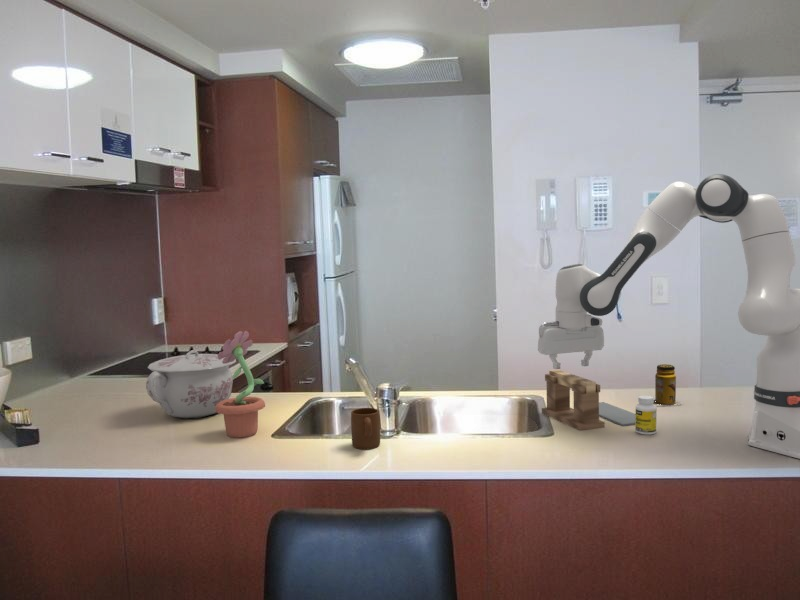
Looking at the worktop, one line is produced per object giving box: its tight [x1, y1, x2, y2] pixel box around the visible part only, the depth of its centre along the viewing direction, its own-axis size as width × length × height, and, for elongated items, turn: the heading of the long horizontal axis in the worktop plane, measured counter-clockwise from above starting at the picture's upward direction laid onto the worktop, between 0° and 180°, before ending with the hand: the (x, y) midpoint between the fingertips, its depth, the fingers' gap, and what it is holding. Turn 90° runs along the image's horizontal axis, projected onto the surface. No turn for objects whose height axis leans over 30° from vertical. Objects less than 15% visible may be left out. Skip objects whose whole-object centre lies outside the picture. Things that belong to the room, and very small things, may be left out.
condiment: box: [653, 364, 682, 407], centre depth 225 cm, size 7×8×12 cm
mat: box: [599, 401, 636, 427], centre depth 214 cm, size 24×10×1 cm, turn 18°
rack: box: [541, 373, 606, 431], centre depth 209 cm, size 21×8×12 cm, turn 18°
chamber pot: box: [145, 349, 237, 420], centre depth 230 cm, size 28×28×21 cm
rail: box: [548, 369, 597, 394], centre depth 209 cm, size 20×3×3 cm, turn 18°
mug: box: [350, 407, 381, 450], centre depth 188 cm, size 12×8×9 cm, turn 9°
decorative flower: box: [215, 330, 266, 439], centre depth 204 cm, size 15×14×30 cm
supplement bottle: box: [634, 395, 657, 436], centre depth 195 cm, size 5×5×10 cm
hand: (570, 367), depth 209 cm, fingers open, 8 cm apart
